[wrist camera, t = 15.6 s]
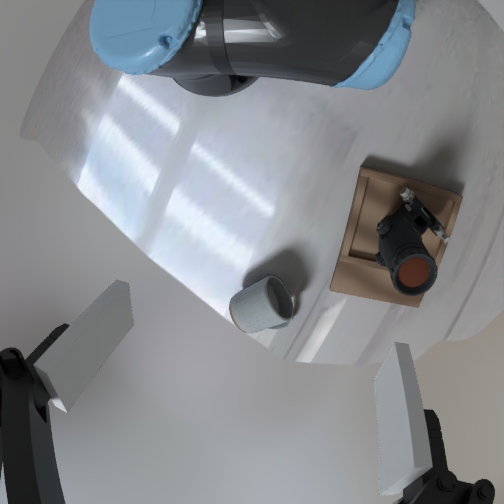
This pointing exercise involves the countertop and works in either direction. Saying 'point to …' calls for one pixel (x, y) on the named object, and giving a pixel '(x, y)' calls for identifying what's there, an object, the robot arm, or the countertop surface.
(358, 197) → the wooden tray
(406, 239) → the scope
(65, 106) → the countertop surface
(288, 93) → the countertop surface
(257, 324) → the ceramic mug
